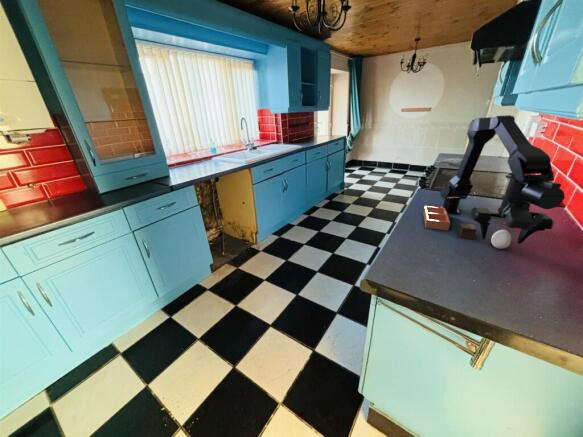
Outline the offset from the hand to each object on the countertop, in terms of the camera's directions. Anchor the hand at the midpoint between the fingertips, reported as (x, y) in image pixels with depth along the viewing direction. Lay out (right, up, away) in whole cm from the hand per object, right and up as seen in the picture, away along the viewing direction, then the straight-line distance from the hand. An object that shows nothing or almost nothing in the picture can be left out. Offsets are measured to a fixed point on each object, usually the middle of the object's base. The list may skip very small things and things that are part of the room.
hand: (500, 241), depth 77 cm
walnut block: (-5, +1, +9) cm, 10 cm away
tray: (-9, +6, +21) cm, 23 cm away
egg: (0, -3, +1) cm, 3 cm away
